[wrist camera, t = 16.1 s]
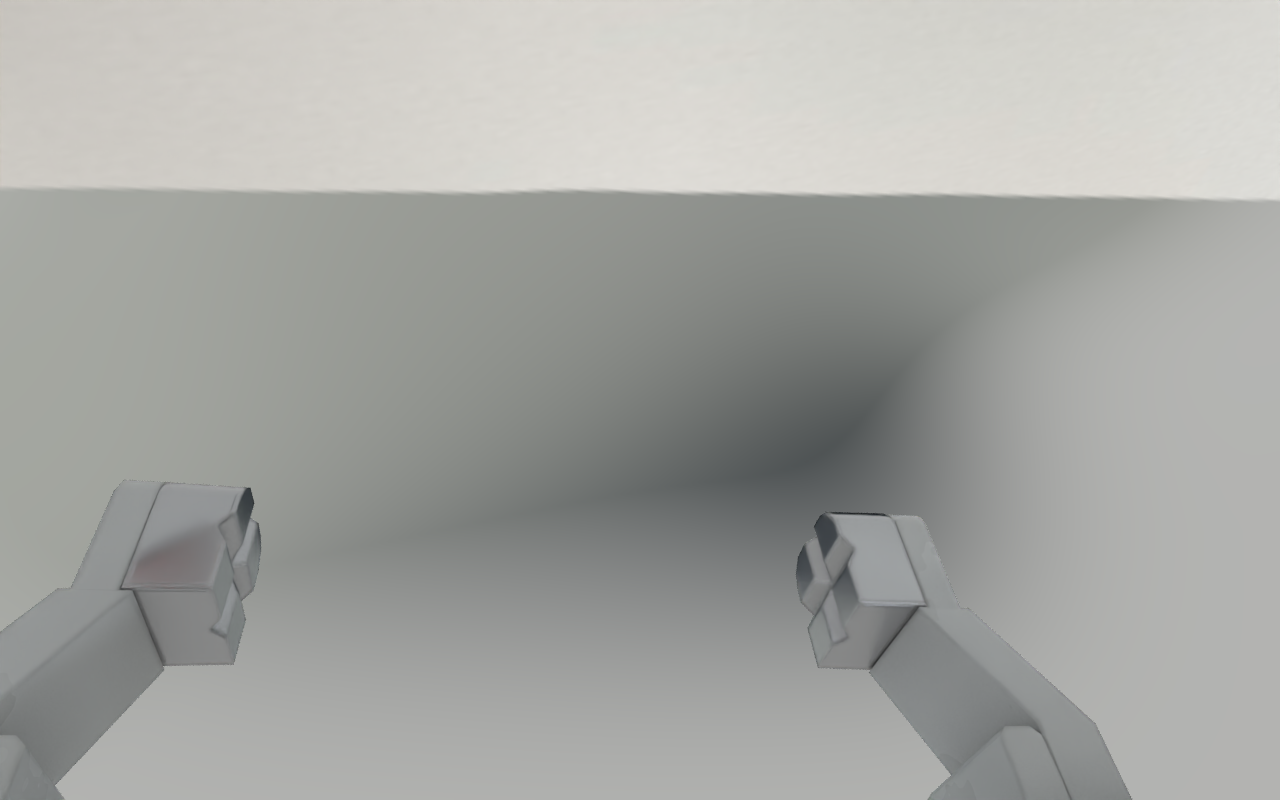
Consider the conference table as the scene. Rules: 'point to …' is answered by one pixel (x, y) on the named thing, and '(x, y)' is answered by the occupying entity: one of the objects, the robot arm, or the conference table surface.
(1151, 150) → the conference table surface
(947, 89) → the conference table surface
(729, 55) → the conference table surface
